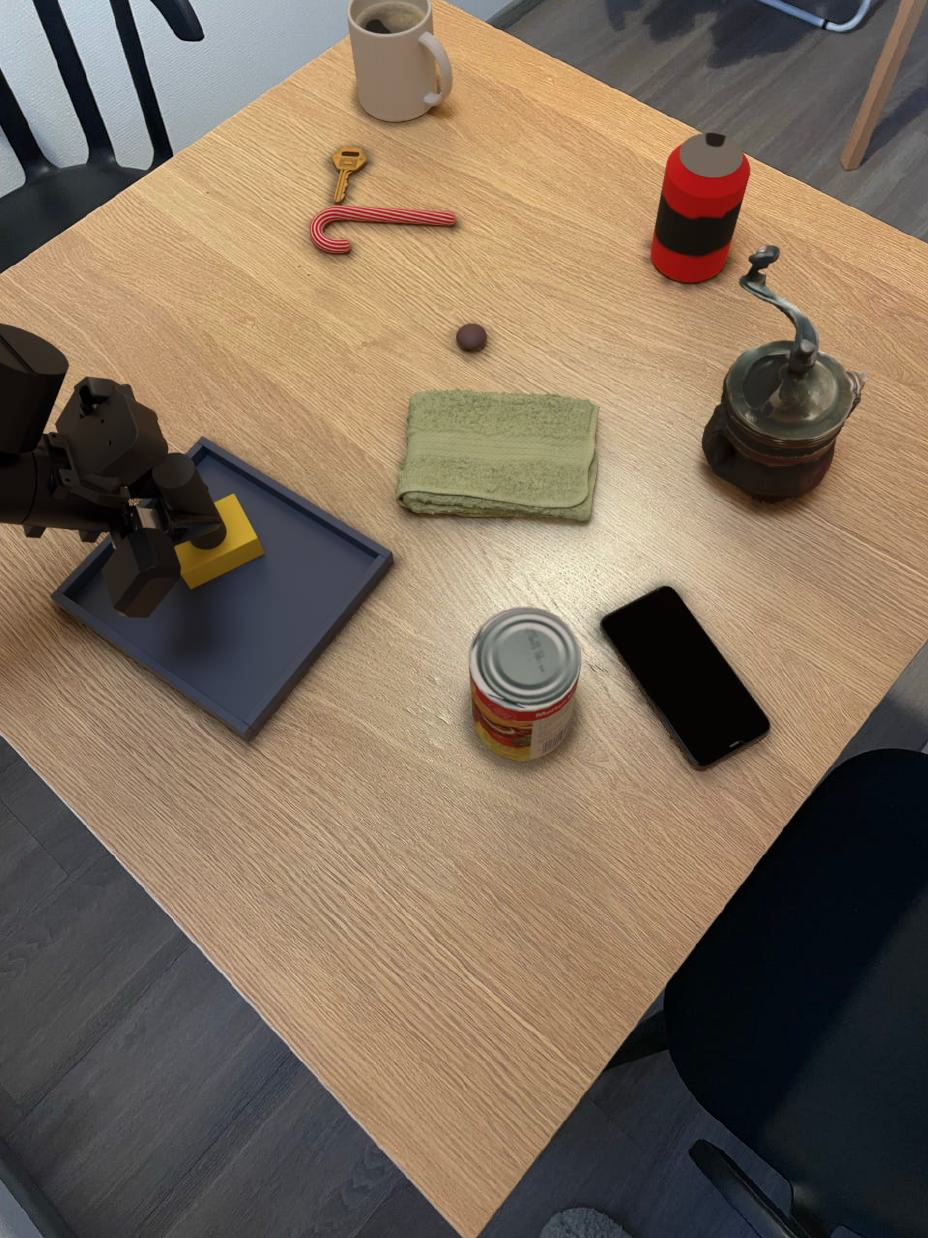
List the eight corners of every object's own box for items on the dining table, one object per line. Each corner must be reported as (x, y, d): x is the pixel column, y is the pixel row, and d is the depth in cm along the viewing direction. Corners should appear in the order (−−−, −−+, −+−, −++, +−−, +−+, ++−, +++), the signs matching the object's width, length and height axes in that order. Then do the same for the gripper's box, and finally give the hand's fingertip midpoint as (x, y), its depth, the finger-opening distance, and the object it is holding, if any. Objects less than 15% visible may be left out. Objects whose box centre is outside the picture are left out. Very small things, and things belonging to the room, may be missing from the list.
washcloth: (594, 529, 85) (597, 510, 82) (394, 517, 86) (390, 498, 84) (598, 407, 91) (602, 385, 88) (410, 398, 92) (408, 376, 89)
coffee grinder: (758, 369, 92) (813, 219, 76) (852, 487, 86) (934, 352, 70) (641, 421, 90) (672, 278, 74) (730, 546, 84) (785, 421, 68)
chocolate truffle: (489, 351, 94) (489, 340, 92) (458, 356, 94) (458, 345, 92) (484, 328, 95) (484, 316, 94) (454, 332, 95) (453, 321, 94)
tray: (249, 742, 78) (243, 734, 76) (59, 606, 84) (48, 596, 82) (394, 563, 85) (392, 551, 83) (208, 448, 90) (202, 435, 88)
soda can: (730, 234, 99) (759, 131, 88) (720, 290, 96) (748, 190, 85) (656, 222, 100) (675, 119, 89) (644, 277, 97) (662, 177, 86)
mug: (351, 77, 111) (338, -11, 102) (431, 60, 112) (426, -29, 103) (372, 141, 106) (361, 55, 97) (456, 123, 107) (452, 36, 98)
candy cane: (450, 262, 99) (450, 251, 98) (306, 254, 100) (303, 243, 99) (456, 219, 101) (456, 207, 100) (315, 211, 102) (313, 200, 101)
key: (321, 202, 103) (321, 199, 102) (335, 148, 106) (335, 145, 106) (356, 204, 102) (356, 201, 102) (369, 150, 106) (369, 147, 105)
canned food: (508, 651, 81) (509, 586, 70) (589, 701, 79) (603, 643, 68) (453, 726, 78) (446, 670, 67) (535, 780, 76) (541, 732, 65)
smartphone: (594, 623, 81) (696, 776, 76) (595, 619, 81) (698, 773, 75) (668, 584, 83) (774, 731, 77) (670, 580, 82) (777, 728, 76)
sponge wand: (191, 589, 83) (142, 515, 71) (168, 544, 85) (117, 465, 73) (265, 553, 85) (229, 475, 73) (241, 510, 86) (203, 426, 74)
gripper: (102, 517, 60) (304, 539, 71) (32, 304, 67) (225, 355, 78) (32, 619, 66) (229, 624, 77) (-25, 413, 73) (163, 445, 85)
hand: (212, 507), depth 79 cm, fingers closed on sponge wand, 3 cm apart
